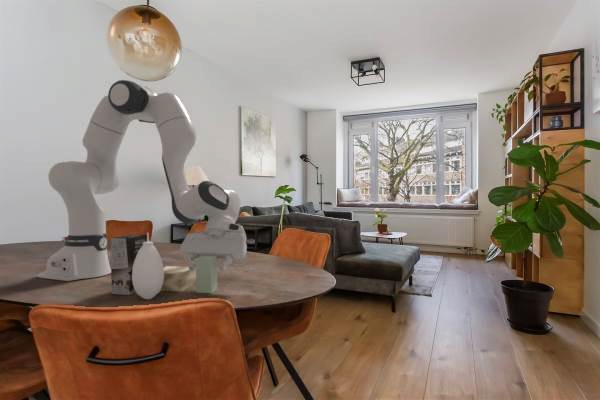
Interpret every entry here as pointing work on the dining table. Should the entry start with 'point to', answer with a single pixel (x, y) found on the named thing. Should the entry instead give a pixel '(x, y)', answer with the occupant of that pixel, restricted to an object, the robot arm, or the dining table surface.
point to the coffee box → (124, 262)
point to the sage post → (206, 273)
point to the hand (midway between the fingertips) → (206, 269)
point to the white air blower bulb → (148, 271)
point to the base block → (178, 278)
